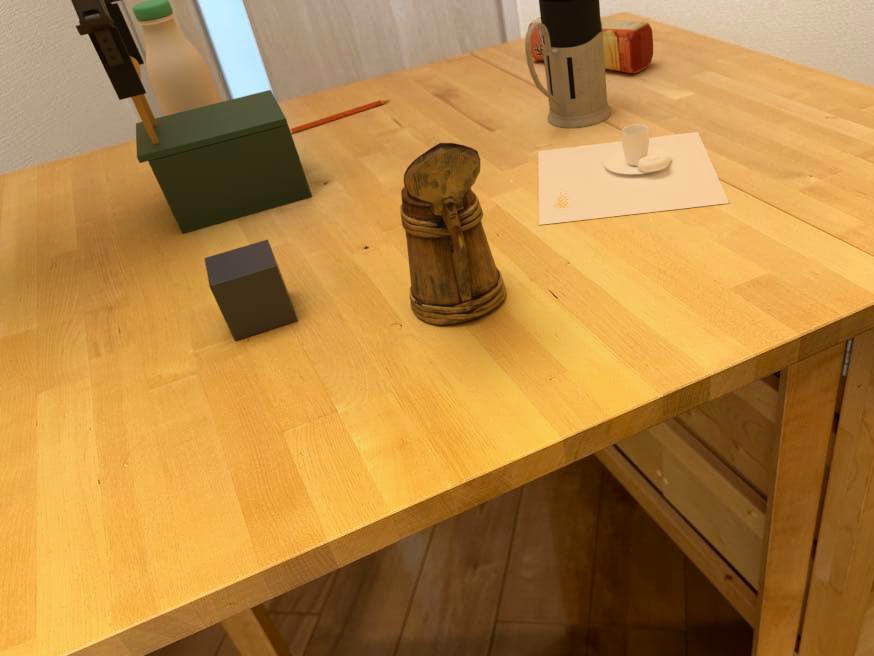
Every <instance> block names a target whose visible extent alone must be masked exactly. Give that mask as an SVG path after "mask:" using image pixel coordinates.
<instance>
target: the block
mask: <svg viewBox="0 0 874 656" xmlns="http://www.w3.org/2000/svg"><path fill="white" fill-rule="evenodd" d="M204 263H205V270H206V276H207V281H208V287H209V289H210V291H211V292H212V295H213V297H214V300H215V302H216V304H217V306H218V308H219V310H220V312H221V315H222V316H223V319H224V321H225V323H226V325H227V328H228V329H229V332H230V334H231V336H232V338H233V341H234V342H237V341H239V340H243V339H245V338H249V337H252V336H255V335H258V334H261V333H264V332H267V331H270V330H273V329H277V328H279V327H283V326H286V325H289V324H292V323H296V322H298V321H299V319H298V316H297V312H296V310H295V308H294V304H293V302H292V299H291V295H290V292H289V290H288V288H287V285H286V282H285V279H284V278H283V274H282V272H281V270H280V267H279V265H278V262H277V259H276V257H275V254H274V252H273V248H272V247H271V244H270V241H269V239H264V240H261V241H258V242H254V243H251V244H247V245H244V246H240V247H237V248H234V249H231V250H227V251H223V252H219V253H217V254H213V255H210V256H207V257H204Z"/></svg>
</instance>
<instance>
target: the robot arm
mask: <svg viewBox="0 0 874 656" xmlns="http://www.w3.org/2000/svg"><path fill="white" fill-rule="evenodd" d="M121 1H122V0H70V2H71V4H72V6H73V9H74V11H75V14H76V15H77V18H78V23H79V24H77V25H75V29H76V30H77V32H78V34H79V36H86V35H88V37H89V40H90V41H91V43H92V45H93V48H94V50H95V52H96V55H97V56H98V58H99V60H100V63H101V65H102V66H103V69H104V71H105V73H106V75H107V77H108V79H109V81H110V83H111V86H112V88H113V90H114V92H115V94H116V96H117V98H118V100H119V101H122V100H125V99H131V97H134V96H138V95H142V94H144V95H145V94H147V91H146V88H145V87H144V86H145V85H144V84H143V82H142V79H141V80H140V78H139V75H138V73H137V71H136V69H135V67H134V64H133V62H132V60H131V58H130V56H131V57H133V58H135V59H136V60H137V61H138V63H139V65H140V66H141V65H144V64H145V62H144V59H143V57H142V55H141V53H140V51H139V48H138V46H137V44H136V41H135V39H134V36H133V34H132V32H131V30H130V28H129V26H128V24H127V22H126V19H125V17H124V15H123V12H122V10H121V7H120V6H119V3H118V2H121Z"/></svg>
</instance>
